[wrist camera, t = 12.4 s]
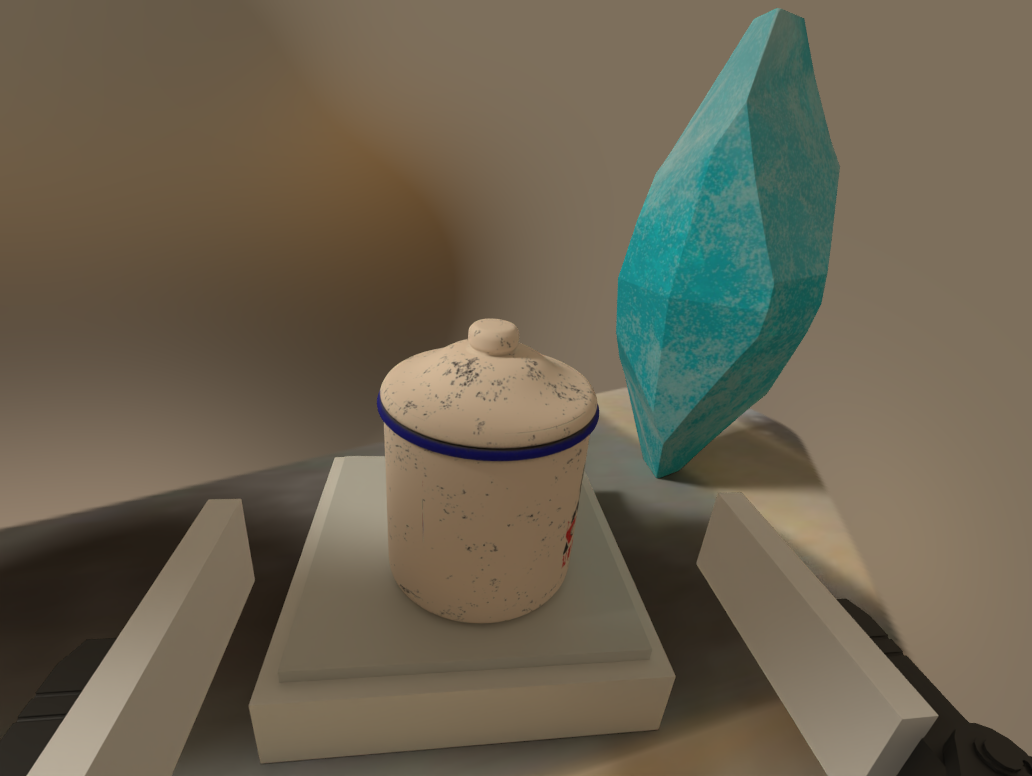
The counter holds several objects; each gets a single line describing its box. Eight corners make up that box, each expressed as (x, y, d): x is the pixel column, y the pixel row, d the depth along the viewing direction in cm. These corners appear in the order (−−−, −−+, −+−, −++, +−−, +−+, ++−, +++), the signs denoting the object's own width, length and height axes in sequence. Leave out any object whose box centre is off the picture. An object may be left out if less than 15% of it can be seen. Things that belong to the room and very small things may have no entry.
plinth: (260, 763, 19) (246, 694, 18) (338, 500, 34) (334, 449, 32) (658, 729, 22) (678, 666, 20) (572, 498, 36) (580, 450, 34)
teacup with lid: (608, 604, 22) (660, 360, 18) (400, 659, 19) (392, 379, 14) (514, 459, 32) (530, 278, 28) (367, 480, 29) (357, 280, 24)
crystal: (785, 484, 40) (954, 31, 28) (668, 540, 33) (826, -41, 20) (668, 417, 49) (756, 53, 37) (556, 450, 42) (618, 9, 29)
